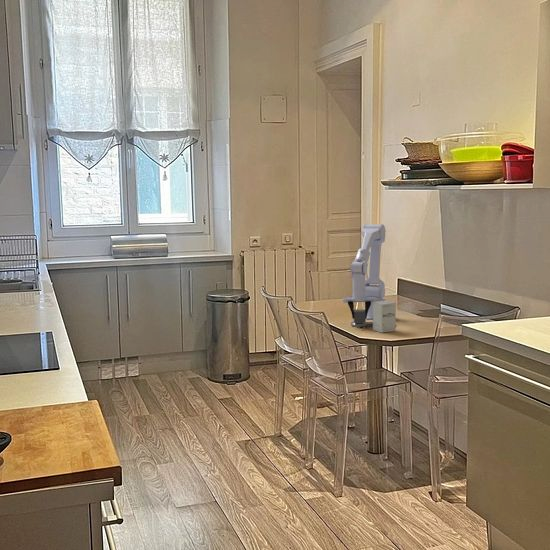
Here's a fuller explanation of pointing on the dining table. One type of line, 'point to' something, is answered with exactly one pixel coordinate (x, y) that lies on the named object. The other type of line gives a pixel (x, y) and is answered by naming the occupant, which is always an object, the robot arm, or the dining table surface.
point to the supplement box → (384, 316)
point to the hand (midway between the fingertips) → (359, 318)
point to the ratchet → (361, 324)
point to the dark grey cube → (359, 315)
